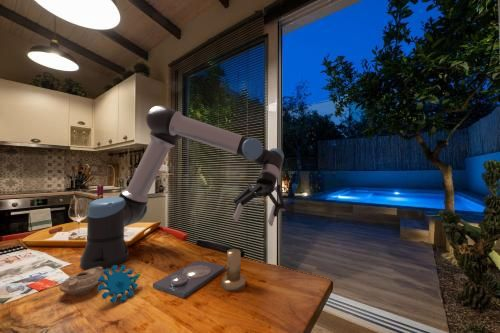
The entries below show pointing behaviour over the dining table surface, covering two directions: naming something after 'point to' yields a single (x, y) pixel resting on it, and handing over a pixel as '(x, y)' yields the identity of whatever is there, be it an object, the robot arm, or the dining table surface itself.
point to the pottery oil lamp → (82, 281)
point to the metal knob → (233, 272)
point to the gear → (118, 283)
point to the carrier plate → (189, 278)
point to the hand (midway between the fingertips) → (251, 221)
